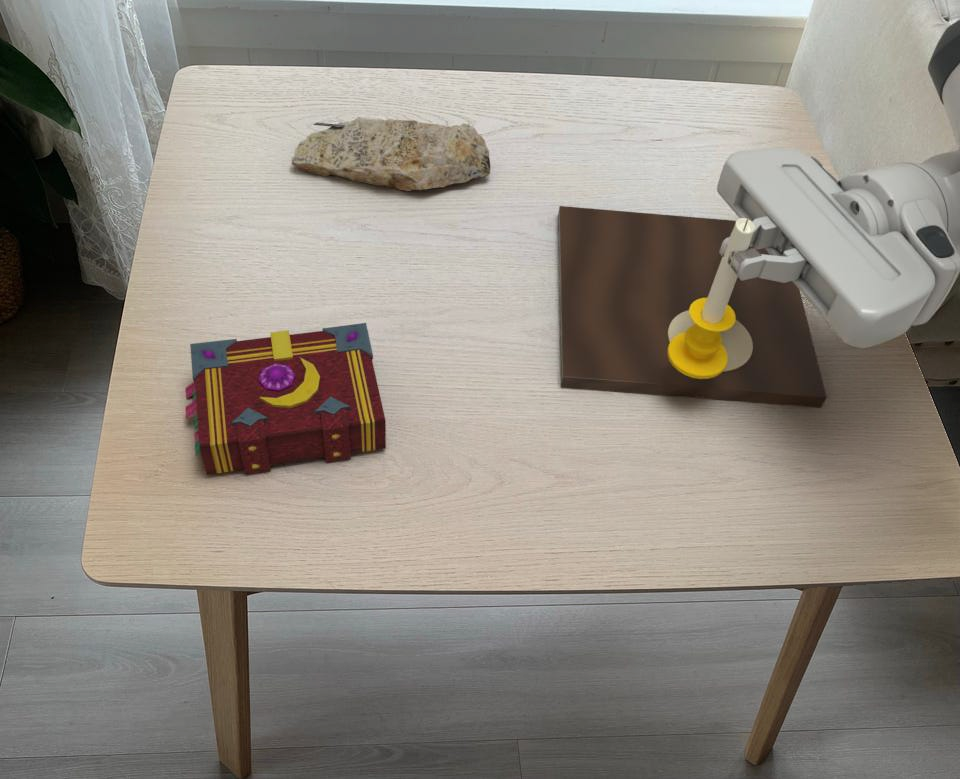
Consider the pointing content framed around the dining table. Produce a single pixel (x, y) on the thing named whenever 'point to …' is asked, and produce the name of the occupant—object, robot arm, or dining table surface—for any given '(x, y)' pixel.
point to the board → (672, 311)
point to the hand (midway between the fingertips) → (731, 260)
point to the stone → (395, 153)
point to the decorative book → (285, 399)
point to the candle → (711, 317)
